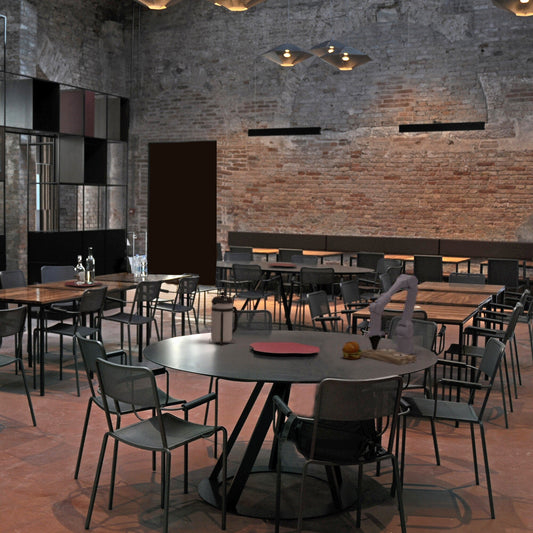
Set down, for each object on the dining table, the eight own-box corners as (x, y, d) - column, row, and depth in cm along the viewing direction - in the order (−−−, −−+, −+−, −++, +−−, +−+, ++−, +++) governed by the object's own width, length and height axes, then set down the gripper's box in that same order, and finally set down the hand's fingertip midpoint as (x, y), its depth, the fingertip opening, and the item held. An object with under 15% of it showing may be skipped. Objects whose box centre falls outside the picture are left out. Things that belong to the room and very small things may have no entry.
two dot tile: (386, 353, 402) (386, 348, 402) (395, 354, 398) (395, 349, 397) (379, 354, 398) (379, 349, 398) (387, 356, 394) (388, 351, 393)
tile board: (375, 352, 413) (375, 347, 413) (416, 361, 392) (416, 356, 392) (358, 355, 404) (359, 350, 404) (399, 365, 383) (399, 359, 383)
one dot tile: (373, 352, 409) (373, 347, 409) (382, 354, 404) (382, 349, 404) (366, 353, 405) (366, 348, 405) (374, 355, 401) (375, 350, 400)
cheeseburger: (365, 357, 400) (364, 340, 397) (357, 365, 392) (356, 347, 389) (347, 354, 405) (346, 337, 402) (339, 362, 397) (338, 345, 394)
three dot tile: (399, 358, 395) (399, 353, 395) (408, 360, 391) (408, 355, 391) (392, 359, 392) (392, 354, 391) (401, 361, 387) (401, 356, 387)
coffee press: (235, 346, 423) (236, 293, 420) (207, 345, 423) (208, 293, 421) (237, 340, 440) (238, 290, 438) (210, 339, 440) (211, 289, 438)
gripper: (372, 326, 396) (371, 352, 397) (389, 324, 405) (388, 349, 406) (362, 325, 401) (361, 349, 402) (379, 322, 410) (378, 346, 412)
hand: (374, 349), depth 404 cm, fingers closed, pressing on one dot tile
